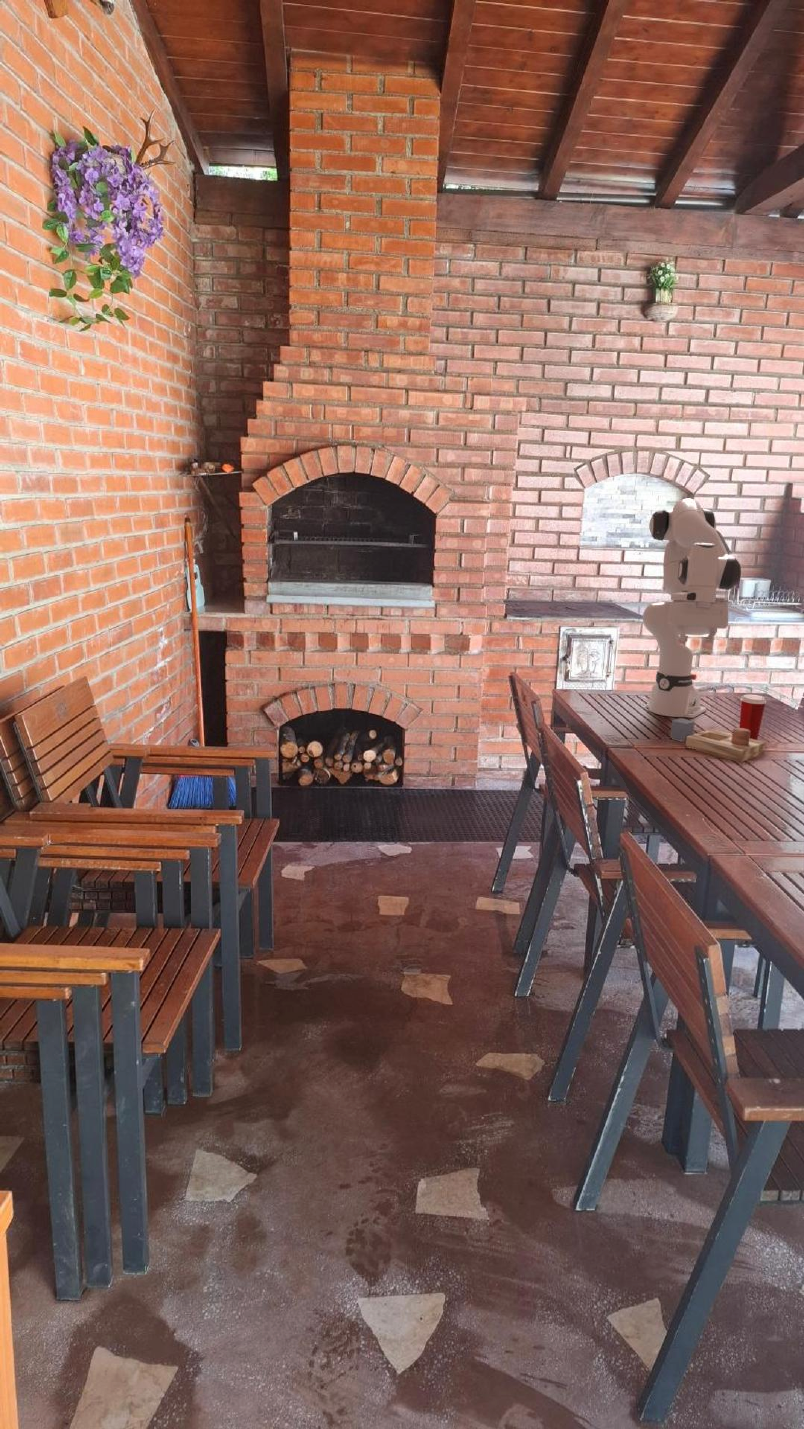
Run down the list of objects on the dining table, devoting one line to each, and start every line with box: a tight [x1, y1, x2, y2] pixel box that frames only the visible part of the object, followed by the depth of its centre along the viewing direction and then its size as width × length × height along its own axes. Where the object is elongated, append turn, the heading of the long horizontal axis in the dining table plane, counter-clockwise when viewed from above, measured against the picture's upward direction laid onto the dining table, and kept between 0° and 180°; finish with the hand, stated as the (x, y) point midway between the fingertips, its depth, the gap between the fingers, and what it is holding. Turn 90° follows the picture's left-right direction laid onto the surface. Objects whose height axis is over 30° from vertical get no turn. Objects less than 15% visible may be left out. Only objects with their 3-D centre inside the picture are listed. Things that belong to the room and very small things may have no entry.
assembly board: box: [685, 727, 766, 763], centre depth 279 cm, size 15×18×8 cm
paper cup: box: [738, 694, 767, 740], centre depth 292 cm, size 8×8×14 cm
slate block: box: [669, 717, 695, 741], centre depth 290 cm, size 5×5×6 cm
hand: (696, 642), depth 277 cm, fingers open, 8 cm apart
